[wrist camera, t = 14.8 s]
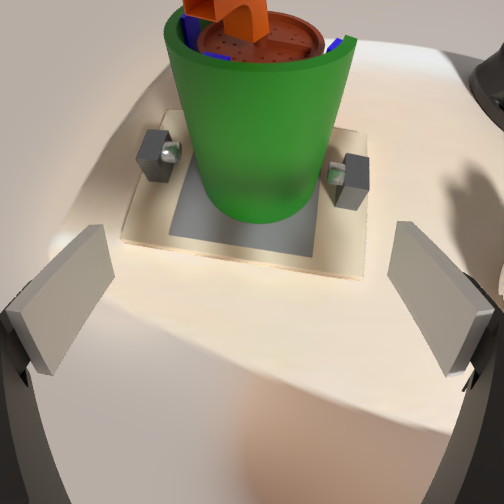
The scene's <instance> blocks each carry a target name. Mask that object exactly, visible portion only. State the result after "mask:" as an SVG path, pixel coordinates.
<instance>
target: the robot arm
mask: <svg viewBox="0 0 504 504" xmlns="http://www.w3.org/2000/svg"><path fill="white" fill-rule="evenodd" d="M469 82H470V87H471V90H472V92H473V94H474V96H475V98H476V100H477V101H478V103H479V104H480V106H481V107H482V108H483V110H484V111H485V112H486V113H487V114H488V116H489V117H490V118H491V119H492V120H493V121H494V122H495V123H496V124H497V125H498V126H499V127H500V128H501V129H502V130H503V131H504V43H503V45H502V46H501V48H500V50H499V51H498V52H496V53H495V54H494V55H492V56H491V57H489V58H488V59H487V60H485V61H484V62H483V63H482V64H480V65H478V66H477V67H476V68H475V69H474V71H473V73H472V74H471V76H470V79H469ZM387 276H388V277H389V279H390V280H391V282H392V284H393V285H394V287H395V288H396V290H397V292H398V293H399V295H400V297H401V298H402V300H403V301H404V303H405V305H406V307H407V308H408V310H409V312H410V313H411V315H412V317H413V318H414V320H415V322H416V324H417V325H418V327H419V329H420V331H421V332H422V334H423V336H424V338H425V340H426V341H427V343H428V345H429V347H430V349H431V351H432V352H433V354H434V356H435V358H436V360H437V362H438V364H439V366H440V368H441V369H442V371H443V373H444V375H445V377H446V378H448V377H453V376H457V375H461V374H463V373H464V371H465V370H466V368H467V366H468V364H469V362H471V363H472V365H473V367H474V368H475V369H474V371H473V372H472V374H471V376H470V378H469V379H468V381H467V383H466V384H465V386H464V388H463V389H462V391H463V392H464V391H465V390H466V388H467V390H466V394H465V397H464V400H463V404H462V407H461V410H460V413H459V416H458V419H457V422H456V425H455V428H454V430H453V433H452V436H451V439H450V441H449V444H448V446H447V449H446V451H445V454H444V456H443V458H442V461H441V463H440V466H439V468H438V470H437V472H436V474H435V477H434V479H433V481H432V483H431V485H430V487H429V490H428V491H427V493H426V495H425V497H424V499H423V501H422V503H421V504H504V313H503V312H502V310H501V309H500V308H499V307H498V306H497V304H496V303H495V302H494V301H493V300H492V299H491V298H490V296H489V295H488V294H486V292H485V291H484V290H483V289H482V288H481V286H480V285H479V284H478V283H477V282H476V281H475V280H474V279H473V278H472V277H470V276H469V275H467V274H466V273H464V272H462V271H461V270H460V269H459V268H458V267H457V266H456V265H455V264H454V263H453V262H452V261H451V260H450V259H449V258H448V257H447V256H446V255H445V254H444V253H443V252H442V251H441V250H440V249H439V248H438V246H437V245H436V244H434V243H433V242H432V241H431V240H430V239H429V238H428V237H427V236H426V235H425V234H424V233H423V232H422V231H421V230H420V229H419V228H418V227H417V226H416V225H415V224H414V223H413V222H406V221H397V226H396V232H395V238H394V243H393V249H392V254H391V259H390V264H389V269H388V274H387ZM114 277H115V276H114V272H113V268H112V263H111V259H110V255H109V250H108V246H107V241H106V237H105V232H104V227H103V224H102V225H89V226H88V227H87V228H85V229H84V230H83V231H82V232H81V233H80V234H79V235H78V236H77V237H76V238H75V239H73V240H72V241H71V242H70V243H69V244H68V245H67V246H66V247H65V248H64V249H63V250H62V251H61V252H60V253H59V254H58V255H57V256H56V257H55V258H54V259H53V260H52V261H51V262H50V263H49V264H48V265H47V266H46V267H45V268H44V269H43V270H42V271H41V272H40V273H39V274H38V275H37V276H36V277H35V278H34V279H33V280H31V281H30V282H28V284H27V285H26V286H25V287H24V288H23V289H22V291H20V292H19V293H18V294H17V296H16V297H15V298H14V299H13V300H12V301H11V302H10V303H9V304H8V305H7V306H6V308H5V309H4V310H3V311H2V312H1V313H0V504H71V502H70V500H69V498H68V495H67V493H66V490H65V488H64V485H63V483H62V481H61V478H60V476H59V473H58V470H57V468H56V465H55V462H54V459H53V457H52V454H51V451H50V448H49V445H48V442H47V438H46V435H45V432H44V429H43V425H42V422H41V418H40V414H39V411H38V407H37V403H36V399H35V394H34V390H33V385H32V381H31V376H30V373H29V371H28V370H27V368H26V367H27V365H28V364H29V362H30V361H31V362H32V364H33V366H34V368H35V369H36V371H37V372H38V373H41V374H45V375H50V376H54V374H55V372H56V370H57V368H58V367H59V365H60V363H61V361H62V360H63V358H64V356H65V355H66V353H67V351H68V349H69V348H70V346H71V344H72V343H73V341H74V339H75V338H76V336H77V334H78V332H79V331H80V330H81V328H82V326H83V324H84V323H85V321H86V320H87V318H88V317H89V315H90V314H91V312H92V311H93V309H94V307H95V306H96V304H97V303H98V301H99V300H100V298H101V297H102V295H103V294H104V292H105V291H106V289H107V288H108V286H109V285H110V283H111V282H112V280H113V279H114Z"/></svg>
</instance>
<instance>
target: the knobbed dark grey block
mask: <svg viewBox="0 0 504 504" xmlns="http://www.w3.org/2000/svg"><path fill="white" fill-rule="evenodd" d="M181 155H182V145H181V143H180V142H173V141H172V138H171V136H170V133H169V130H147V133H146V135H145V137H144V140H143V142H142V145H141V147H140V149H139V152H138V154H137V157H136V161H137V162H138V164H139V166H140V168H141V169H142V171H143V173H144V174H145V176H146V178H147V180H148V181H150V182H160V183H168V182H169V179H170V176H171V173H172V170H173V167H174V164H175V163H178V162H179V161H180V159H181Z"/></svg>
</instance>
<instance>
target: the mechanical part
mask: <svg viewBox="0 0 504 504" xmlns="http://www.w3.org/2000/svg"><path fill="white" fill-rule="evenodd" d="M498 291H499V295H503V299H504V265H503V268H502V271H501V274H500V279H499V289H498Z"/></svg>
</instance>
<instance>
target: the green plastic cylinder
mask: <svg viewBox="0 0 504 504" xmlns="http://www.w3.org/2000/svg"><path fill="white" fill-rule="evenodd" d="M164 39H165V43H166V46H167V51H168V55H169V59H170V63H171V67H172V71H173V75H174V79H175V82H176V86H177V90H178V94H179V98H180V102H181V105H182V109H183V113H184V117H185V120H186V124H187V128H188V131H189V135H190V139H191V142H192V146H193V150H194V153H195V157H196V160H197V164H198V168H199V171H200V175H201V178H202V182H203V185H204V189H205V191H206V194H207V196H208V198H209V199H210V201H211V202H212V203H213V204H214V205H215V207H217V208H218V209H219V210H220V211H221V212H223V213H224V214H226V215H227V216H229V217H231V218H233V219H236V220H238V221H242V222H246V223H252V224H268V223H274V222H278V221H281V220H284V219H286V218H289V217H290V216H292V215H294V214H295V213H297V212H298V211H299V210H301V209H302V208H303V207H304V206H305V205H306V203H307V202H308V201H309V199H310V198H311V196H312V194H313V191H314V188H315V185H316V182H317V179H318V176H319V172H320V169H321V166H322V163H323V159H324V156H325V153H326V150H327V146H328V143H329V140H330V136H331V133H332V129H333V126H334V123H335V119H336V116H337V112H338V109H339V105H340V102H341V98H342V95H343V91H344V88H345V84H346V80H347V77H348V73H349V69H350V66H351V62H352V58H353V55H354V51H355V47H356V43H357V39H356V38H353V37H350V36H347V35H345V37H344V39H343V40H342V39H339V38H337V39H336V40H335V41H334V42H333V43H332V44H331V45H330V46H329V47H328V48H327V52H326V53H325V54H323V53H324V48H325V42H324V38H323V36H322V35H321V33H320V32H319V31H318V30H317V29H316V28H315V27H314V26H313V25H311V24H309V23H308V22H306V21H304V20H302V19H300V18H297V17H295V16H292V15H288V14H284V13H279V12H273V11H267V3H266V0H183V6H182V7H180V8H179V9H178V10H176V11H175V12H174V13H173V14H172V15H171V17H170V18H169V19H168V21H167V22H166V25H165V28H164Z"/></svg>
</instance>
